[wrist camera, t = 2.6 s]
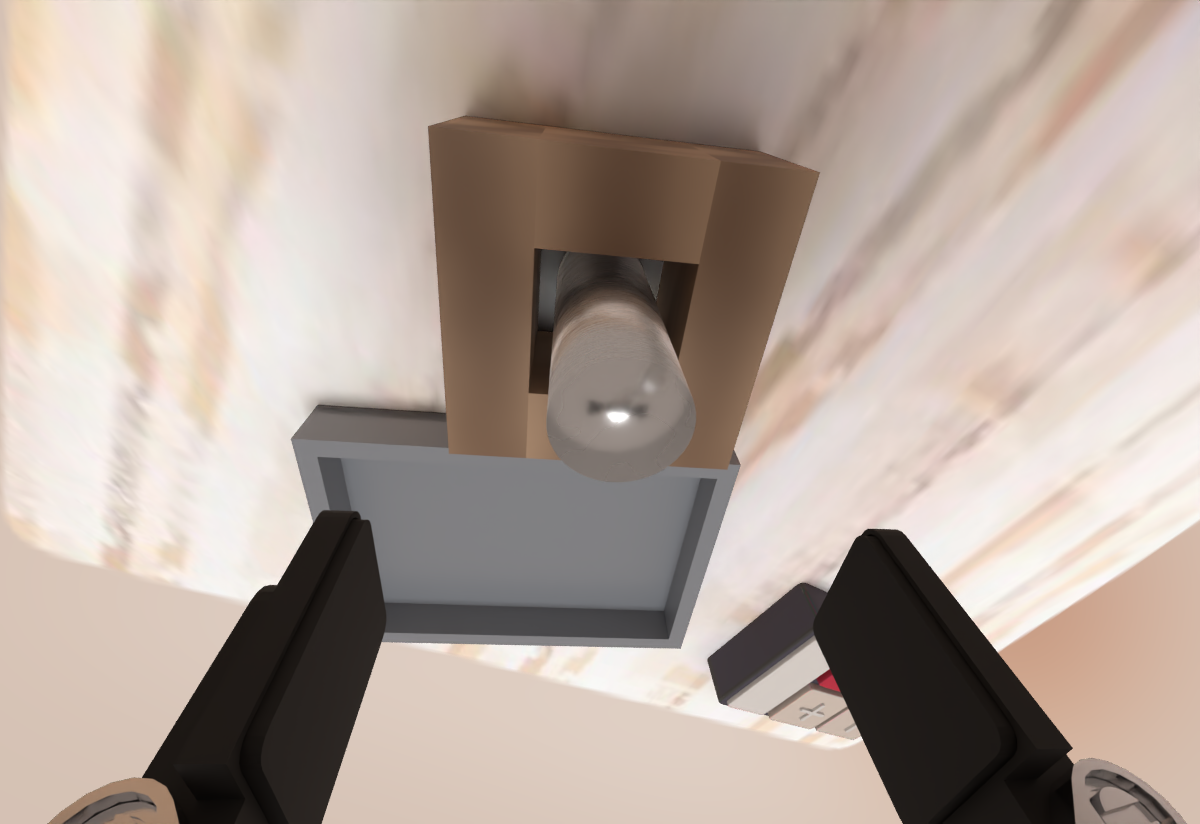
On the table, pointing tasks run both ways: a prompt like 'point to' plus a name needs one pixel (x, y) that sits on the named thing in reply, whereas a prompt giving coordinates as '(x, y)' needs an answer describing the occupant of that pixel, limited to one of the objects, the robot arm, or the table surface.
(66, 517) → the table surface
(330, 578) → the robot arm
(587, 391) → the pin
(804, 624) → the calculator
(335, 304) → the table surface
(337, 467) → the tray
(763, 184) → the block
